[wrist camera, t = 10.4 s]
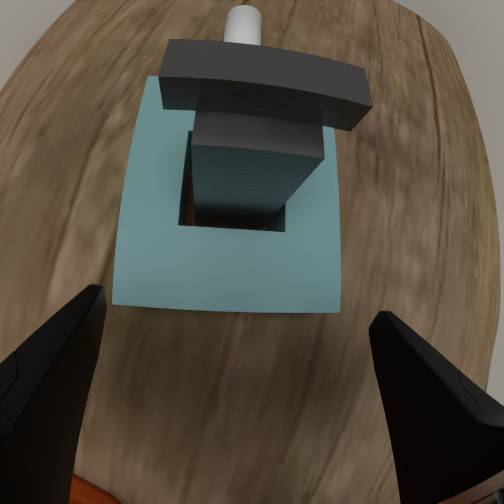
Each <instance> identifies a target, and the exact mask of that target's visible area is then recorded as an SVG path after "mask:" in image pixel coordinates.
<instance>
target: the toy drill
mask: <svg viewBox="0 0 504 504" xmlns="http://www.w3.org/2000/svg"><path fill="white" fill-rule="evenodd" d="M72 475H73V474H72ZM69 504H120V502H119V501H118V500H117V499H115V498H114V497H112V496H111V495H110V494H108V493H107V492H105V491H103V490H102V489H100V488H98V487H96V486H94V485H93V484H91V483H89V482H87V481H85V480H83V479H81V478H79V477H77V476H75V475H73V477H72V484H71V492H70V501H69Z"/></svg>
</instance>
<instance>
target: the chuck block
mask: <svg viewBox="0 0 504 504" xmlns="http://www.w3.org/2000/svg"><path fill="white" fill-rule="evenodd" d="M223 41H224V42H235V43H244V44H253V45H260V46H261V14H260V12H259V11H258V10H257V9H256V8H254V7H251V6H247V5H240V6H236V7H234V8H232V9H231V10H230V11H229V12H228V14H227V19H226V25H225V32H224V38H223ZM194 118H195V111H190V110H163V105H162V99H161V92H160V86H159V79H158V76H148V79H147V82H146V86H145V90H144V93H143V97H142V101H141V105H140V109H139V113H138V117H137V121H136V125H135V130H134V134H133V139H132V144H131V148H130V153H129V159H128V164H127V169H126V175H125V181H124V187H123V193H122V200H121V207H120V215H119V222H118V231H117V240H116V250H115V262H114V276H113V293H112V304H116V305H128V306H140V307H153V308H168V309H184V310H203V311H226V312H261V313H340V289H341V250H340V212H339V191H338V175H337V160H336V148H335V137H334V128H330V127H325V126H323V138H324V152H325V159H324V160H323V161H322V162H321V163H320V165H319V166H318V167H317V168H316V169H315V170H314V171H313V172H312V174H311V175H310V176H309V177H308V178H307V179H306V180H305V181H304V182H303V184H302V185H301V186H300V187H299V188H298V189H297V190H296V191H295V193H294V194H293V195H292V196H291V197H290V198H289V199H288V200H287V202H286V203H285V204H284V205H283V206H282V207H281V208H280V209H279V211H278V212H277V213H276V214H275V215H274V216H273V217H272V218H271V220H270V221H269V222H268V231H259V230H244V229H228V228H212V227H195V226H184V222H185V210H186V199H187V189H188V179H189V170H190V163H192V158H191V140H192V132H193V125H194Z"/></svg>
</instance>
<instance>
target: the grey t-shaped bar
mask: <svg viewBox="0 0 504 504" xmlns="http://www.w3.org/2000/svg"><path fill="white" fill-rule="evenodd" d="M158 79H159V86H160V92H161V99H162V105H163V110H190V111H195V118H194V125H193V132H192V140H191V158H192V177H193V194H194V209H195V222H196V227H212V228H228V229H244V230H259V231H261V230H262V229H263V227H264V226H265V225H266V224H267V223H268V222H269V221H270V220H271V218H272V217H273V216H274V215H275V214H276V213H277V212H278V211H279V209H280V208H281V207H282V206H283V205H284V204H285V203H286V202H287V200H288V199H289V198H290V197H291V196H292V195H293V194H294V193H295V191H296V190H297V189H298V188H299V187H300V186H301V185H302V184H303V182H304V181H305V180H306V179H307V178H308V177H309V176H310V175H311V174H312V172H313V171H314V170H315V169H316V168H317V167H318V166H319V165H320V163H321V162H322V161H323V160H324V159H325V152H324V138H323V126H325V127H330V128H335V129H340V130H345V131H351V130H352V129H353V128H354V127H355V126H356V125H357V124H358V123H359V122H360V120H361V119H362V118H363V117H364V116H365V115H366V114H367V113H368V112H369V111H370V109H371V108H372V107H373V105H372V100H371V95H370V90H369V86H368V81H367V77H366V73H365V69H364V68H361V67H357V66H354V65H350V64H347V63H343V62H340V61H336V60H332V59H328V58H324V57H319V56H315V55H311V54H306V53H301V52H296V51H291V50H285V49H280V48H273V47H267V46H260V45H253V44H244V43H235V42H224V41H210V40H188V39H169V42H168V45H167V48H166V52H165V55H164V58H163V62H162V65H161V69H160V72H159V76H158Z"/></svg>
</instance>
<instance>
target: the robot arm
mask: <svg viewBox="0 0 504 504" xmlns="http://www.w3.org/2000/svg"><path fill="white" fill-rule="evenodd" d="M106 311H107V304H106V297H105V290H104V287H103V286H102V285H96V284H90V285H88V286H87V287H86V288H85V289H84V290H82V291H81V292H80V293H79V294H78V295H76V296H75V297H74V298H73V299H72V300H70V301H69V302H68V303H67V304H66V305H65V306H63V307H62V308H61V309H60V310H59V311H58V312H56V313H55V314H54V315H53V316H52V317H51V318H50V319H48V320H47V321H46V322H45V323H44V324H43V325H42V326H41V327H39V328H38V329H37V330H36V331H35V332H34V333H33V334H32V335H31V336H29V337H28V338H27V339H26V340H25V341H24V342H23V343H22V344H21V345H20V346H19V347H18V348H17V349H16V351H13V352H12V353H11V354H10V355H9V356H8V357H7V358H6V359H5V360H4V361H3V362H1V363H0V504H69V501H70V492H71V484H72V477H73V475H72V474H73V469H74V463H75V457H76V451H77V445H78V440H79V435H80V430H81V425H82V420H83V415H84V411H85V407H86V402H87V398H88V394H89V390H90V386H91V382H92V378H93V374H94V371H95V367H96V363H97V359H98V355H99V350H100V344H101V338H102V333H103V327H104V322H105V317H106ZM369 338H370V344H371V350H372V356H373V363H374V369H375V373H376V377H377V381H378V386H379V390H380V394H381V398H382V403H383V407H384V411H385V416H386V421H387V425H388V430H389V435H390V440H391V446H392V451H393V456H394V462H395V468H396V475H397V481H398V488H399V495H400V502H401V504H438V503H441V504H504V406H503V405H501V404H500V403H499V402H497V401H496V400H495V399H493V398H492V397H491V396H490V395H488V394H487V393H486V392H485V391H483V390H482V389H481V388H480V387H478V386H477V385H476V384H475V383H473V382H472V381H471V380H470V379H469V378H468V377H467V376H465V375H464V374H463V373H462V372H461V371H460V370H459V369H458V370H457V368H456V367H455V366H454V365H453V364H452V363H451V362H450V361H448V360H447V359H446V358H445V357H444V356H443V355H442V354H440V353H439V352H438V351H437V350H436V349H435V348H434V347H432V346H431V345H430V344H429V343H428V342H427V341H425V340H424V339H423V338H422V337H421V336H420V335H418V334H417V333H416V332H415V331H414V330H412V329H411V328H410V327H409V326H408V325H407V324H405V323H404V322H403V321H402V320H401V319H399V318H398V317H397V316H396V315H395V314H393V313H392V312H391V311H380V312H378V314H377V315H376V317H375V318H374V320H373V322H372V323H371V325H370V327H369Z"/></svg>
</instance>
